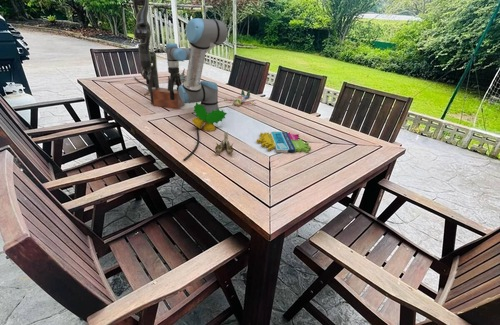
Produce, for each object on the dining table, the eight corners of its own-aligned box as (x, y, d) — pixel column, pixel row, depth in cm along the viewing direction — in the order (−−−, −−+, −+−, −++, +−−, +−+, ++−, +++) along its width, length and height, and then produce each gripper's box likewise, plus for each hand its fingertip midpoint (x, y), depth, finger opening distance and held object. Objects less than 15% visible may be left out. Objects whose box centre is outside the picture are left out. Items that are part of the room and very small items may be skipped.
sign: (313, 150, 142) (258, 149, 139) (312, 153, 143) (258, 152, 140) (301, 132, 164) (254, 130, 161) (301, 134, 165) (254, 133, 162)
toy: (261, 91, 228) (254, 99, 202) (261, 99, 231) (253, 108, 205) (231, 87, 233) (220, 95, 207) (230, 95, 236) (219, 104, 210)
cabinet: (153, 105, 197) (152, 90, 191) (160, 102, 206) (159, 87, 200) (178, 109, 194) (177, 93, 188) (184, 105, 203) (183, 90, 197)
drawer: (144, 103, 198) (142, 90, 193) (150, 99, 206) (149, 87, 201) (174, 106, 194) (173, 94, 190) (179, 103, 202) (178, 91, 198)
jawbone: (234, 135, 144) (233, 125, 135) (233, 160, 138) (232, 151, 129) (217, 135, 144) (216, 125, 135) (216, 160, 138) (214, 150, 129)
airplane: (159, 78, 275) (158, 68, 270) (189, 77, 288) (188, 67, 283) (167, 88, 246) (166, 77, 241) (199, 86, 260) (199, 75, 254)
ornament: (218, 133, 171) (224, 110, 169) (221, 134, 163) (227, 111, 161) (186, 125, 162) (192, 101, 160) (189, 126, 155) (195, 101, 153)
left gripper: (145, 58, 193) (148, 82, 201) (135, 60, 182) (138, 85, 190) (155, 59, 192) (157, 83, 200) (145, 61, 180) (148, 86, 189)
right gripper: (175, 64, 195) (177, 93, 206) (160, 69, 176) (163, 101, 186) (185, 65, 194) (186, 94, 205) (170, 70, 175) (173, 102, 185)
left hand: (148, 84), depth 195 cm, fingers closed
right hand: (175, 97), depth 196 cm, fingers closed on cabinet, 11 cm apart
